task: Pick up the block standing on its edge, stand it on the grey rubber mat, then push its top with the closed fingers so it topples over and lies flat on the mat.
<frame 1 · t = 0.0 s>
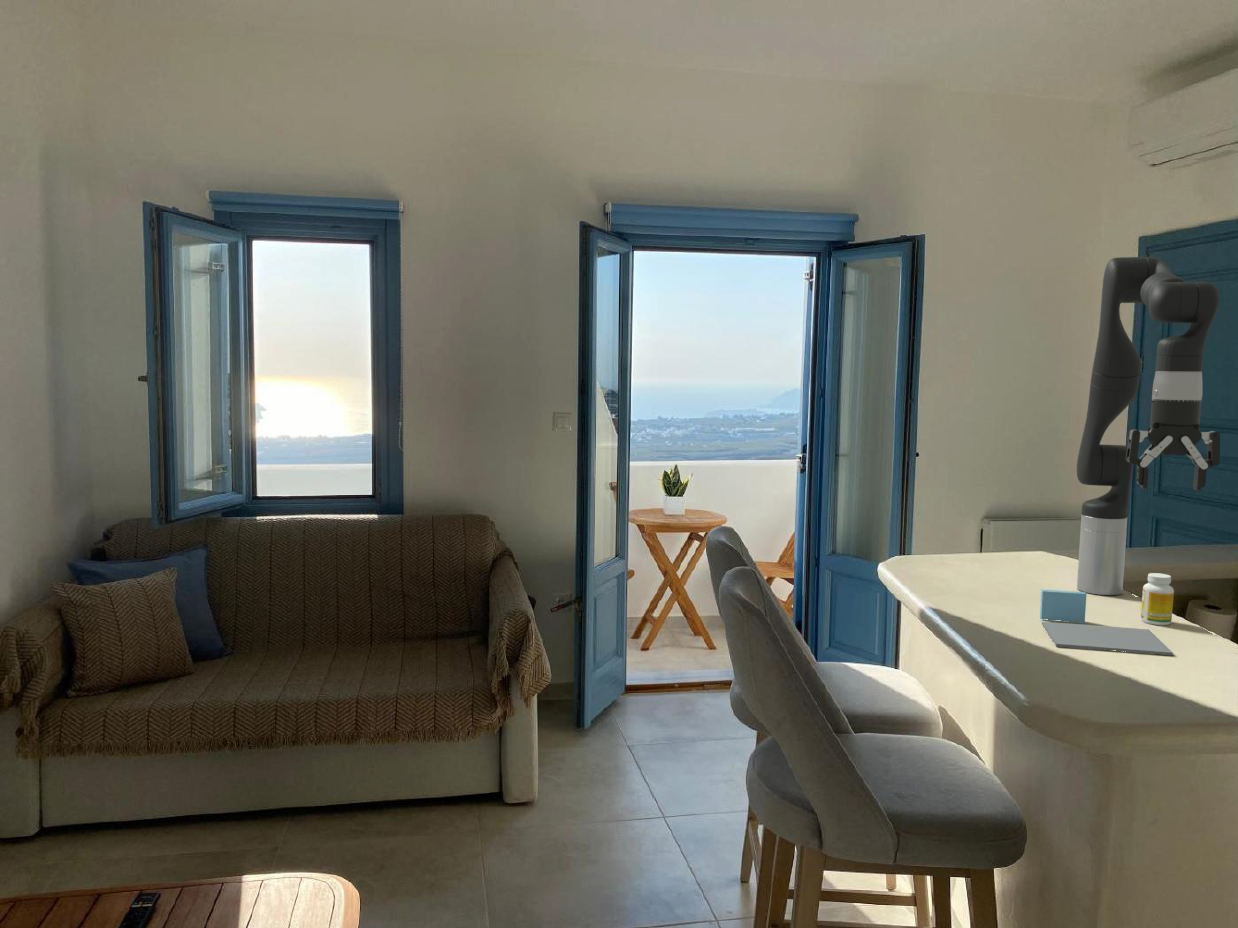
hand: (1169, 488, 167), 29 cm above the worktop, tool pointing down, fingers open, 8 cm apart
mat: (1103, 639, 176), on the worktop
block: (1062, 620, 189), on the worktop
supplement bottle: (1155, 623, 188), on the worktop
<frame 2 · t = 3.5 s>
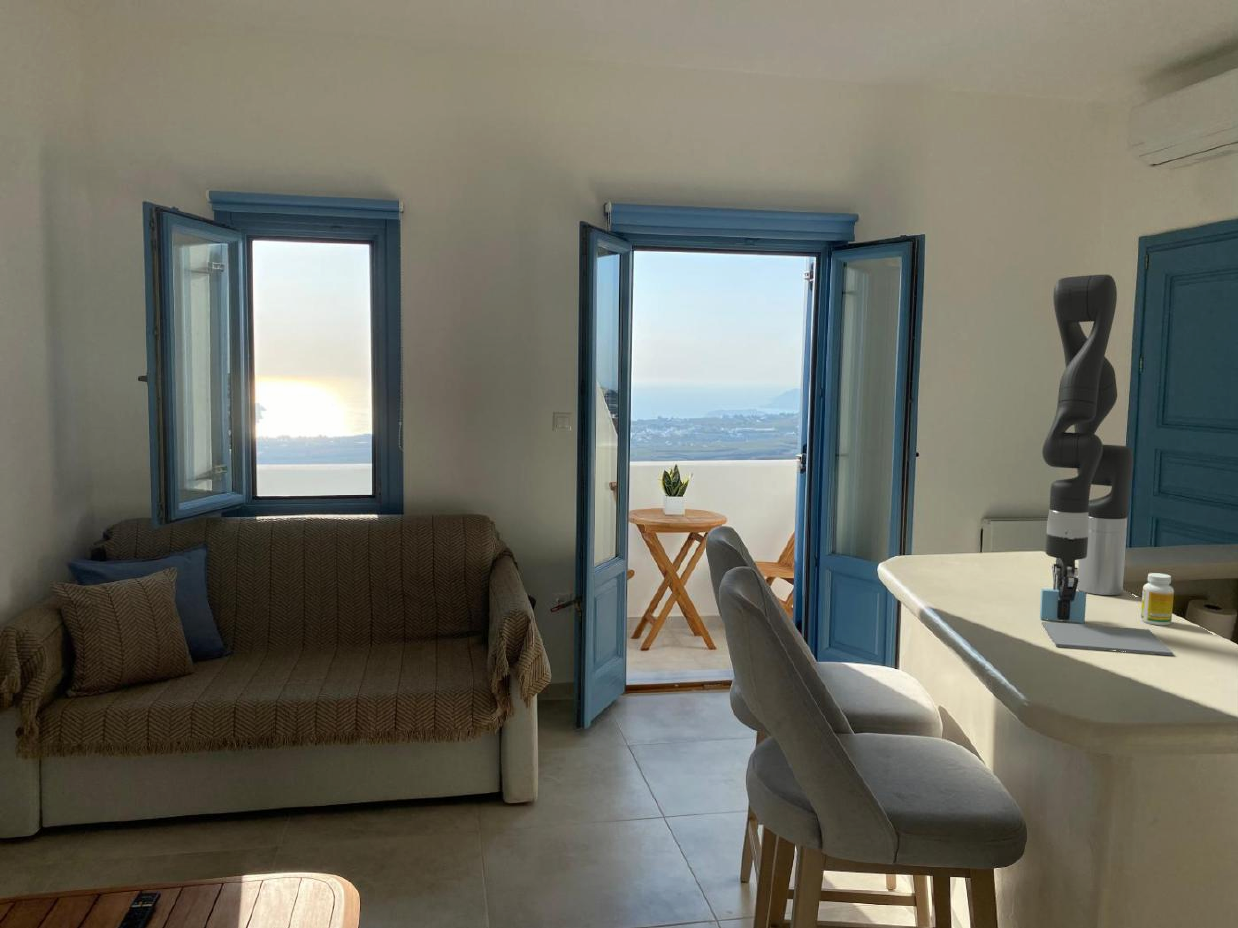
hand: (1062, 617, 189), 1 cm above the worktop, tool pointing down, fingers closed on block, 1 cm apart
block: (1061, 620, 189), on the worktop, touching gripper
everything else where it was.
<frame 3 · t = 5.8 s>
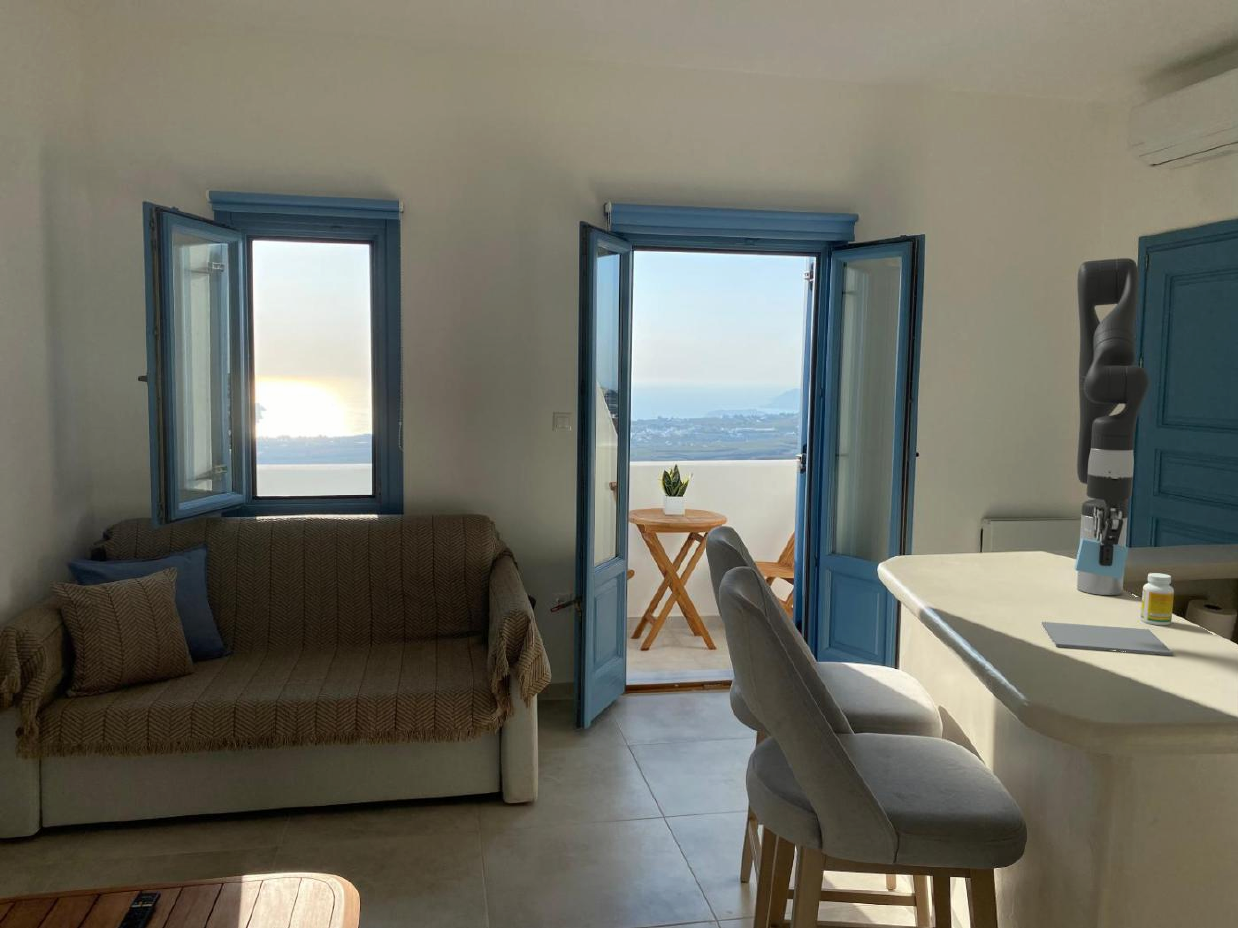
hand: (1104, 564, 177), 14 cm above the worktop, tool pointing down, fingers closed on block, 1 cm apart
block: (1097, 573, 178), point 12 cm above the worktop, tilted 8°, touching gripper
everything else where it was.
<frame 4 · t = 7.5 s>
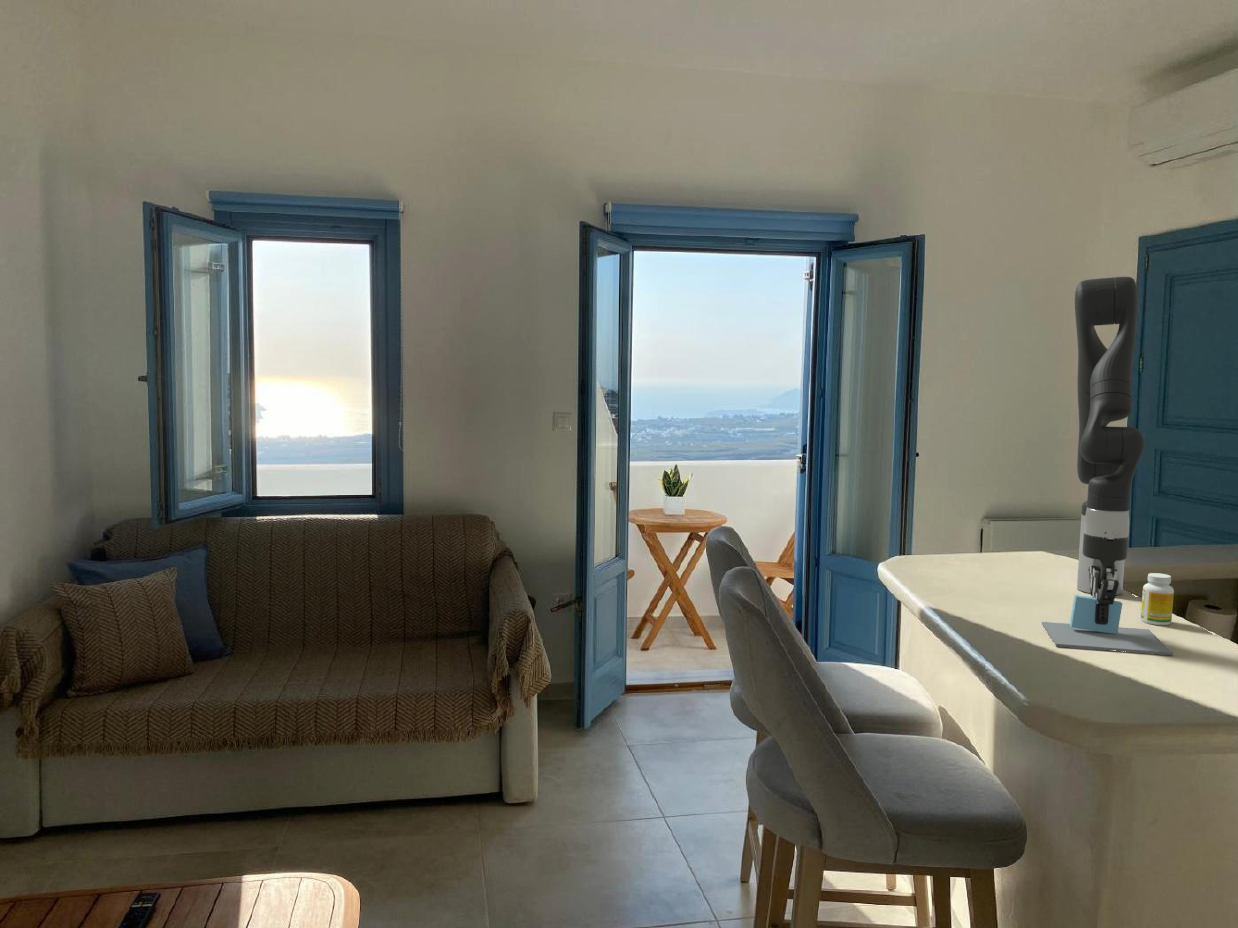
hand: (1100, 622, 178), 2 cm above the worktop, tool pointing down, fingers closed on block, 1 cm apart
block: (1093, 629, 179), point 1 cm above the worktop, tilted 5°, touching gripper
everything else where it was.
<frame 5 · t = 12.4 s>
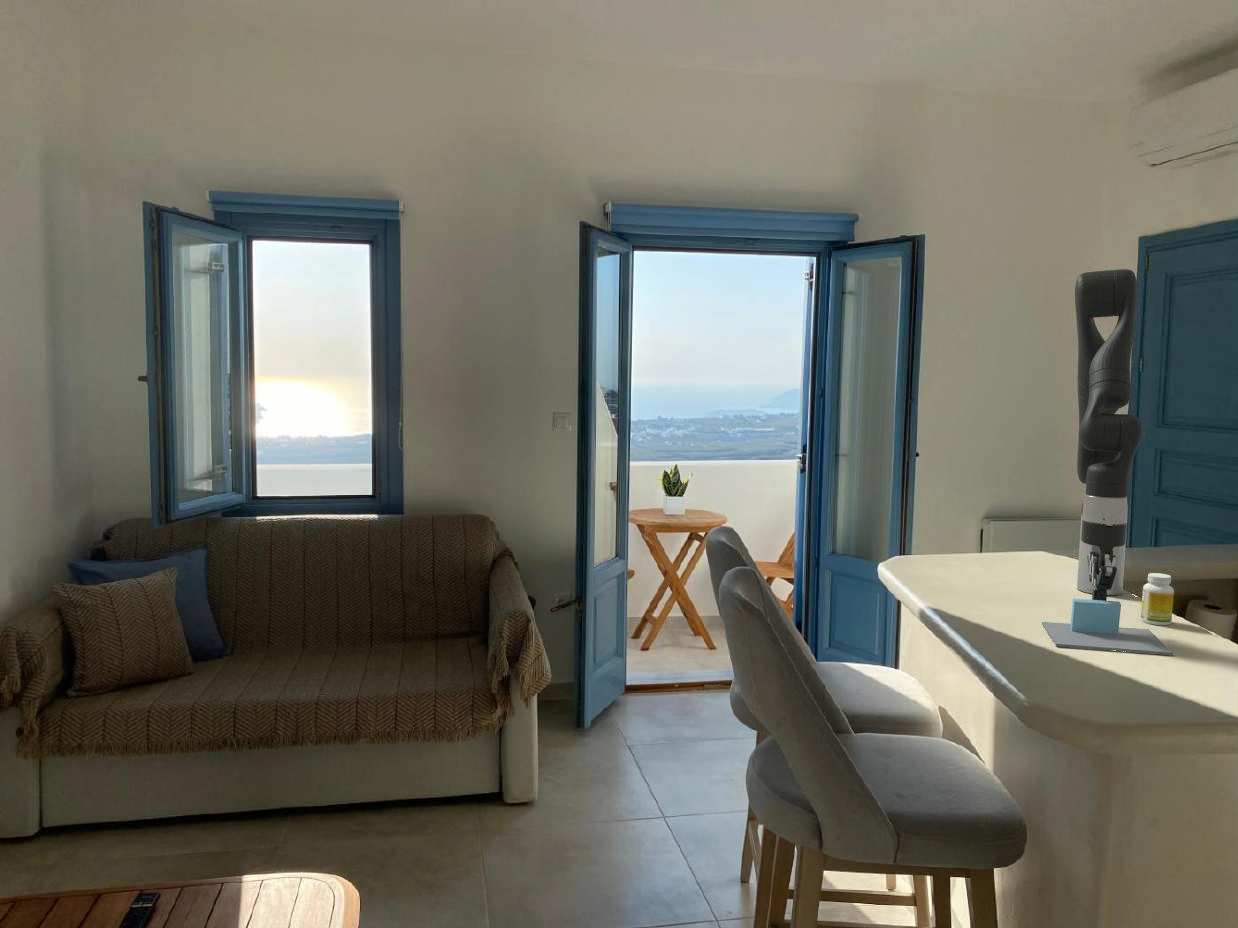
hand: (1098, 608, 180), 5 cm above the worktop, tool pointing down, fingers closed
block: (1093, 631, 179), point 1 cm above the worktop, tilted 8°, touching gripper, mat
everything else where it was.
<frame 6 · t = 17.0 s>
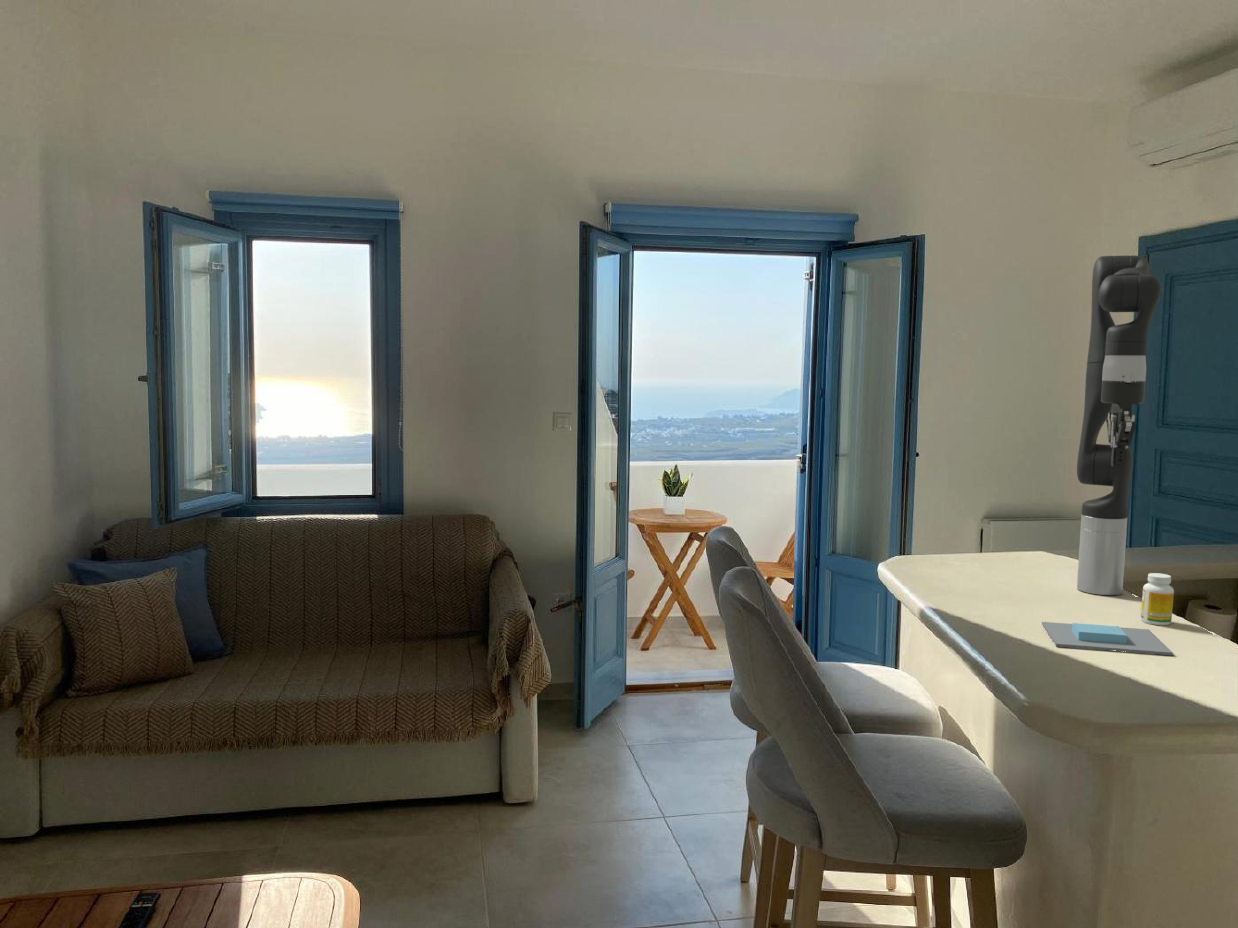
hand: (1117, 466, 186), 31 cm above the worktop, tool pointing down, fingers closed
block: (1095, 628, 178), point 1 cm above the worktop, tilted 90°, touching mat
everything else where it was.
at the end: block tilted 90°; block inside the target area on the mat (2.3 cm from its centre), point 1.4 cm above the mat's base; the gripper is holding nothing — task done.
